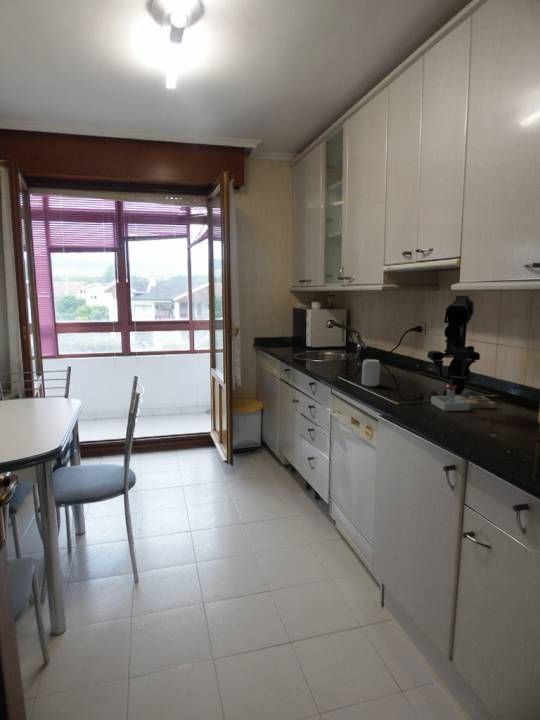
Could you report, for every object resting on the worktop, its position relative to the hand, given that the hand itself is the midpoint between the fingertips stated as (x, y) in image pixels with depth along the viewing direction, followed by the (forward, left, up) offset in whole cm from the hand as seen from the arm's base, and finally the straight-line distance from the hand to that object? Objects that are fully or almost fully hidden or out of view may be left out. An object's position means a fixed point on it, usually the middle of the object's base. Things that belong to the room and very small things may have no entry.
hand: (451, 377), depth 176 cm
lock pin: (0, 0, -11) cm, 11 cm away
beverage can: (-40, -20, -12) cm, 47 cm away
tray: (0, 0, -12) cm, 12 cm away
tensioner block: (-4, +12, -12) cm, 17 cm away
